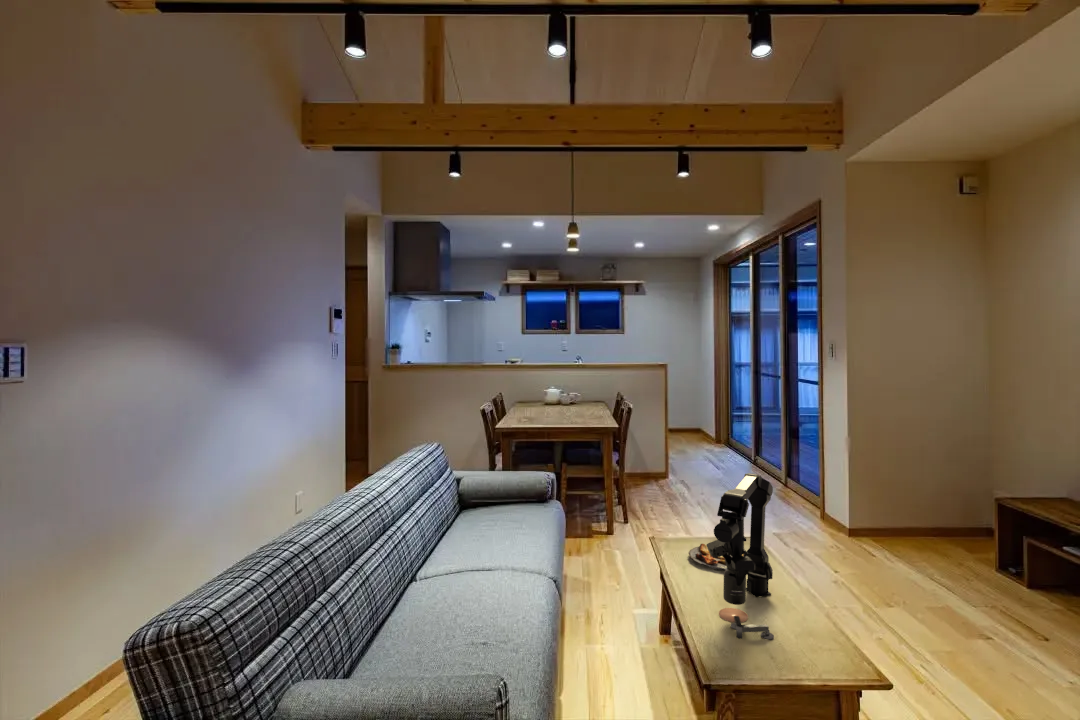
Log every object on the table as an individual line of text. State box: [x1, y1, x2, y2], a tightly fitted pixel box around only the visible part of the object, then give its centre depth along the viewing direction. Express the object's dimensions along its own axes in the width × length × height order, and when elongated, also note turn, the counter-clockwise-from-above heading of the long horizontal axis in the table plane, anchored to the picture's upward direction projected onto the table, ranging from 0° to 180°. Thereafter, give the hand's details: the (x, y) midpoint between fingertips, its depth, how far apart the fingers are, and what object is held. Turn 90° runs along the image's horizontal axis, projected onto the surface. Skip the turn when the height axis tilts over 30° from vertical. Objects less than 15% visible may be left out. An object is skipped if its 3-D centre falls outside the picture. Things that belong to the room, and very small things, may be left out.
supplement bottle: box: [723, 561, 747, 606], centre depth 178 cm, size 7×7×12 cm
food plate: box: [688, 543, 744, 571], centre depth 226 cm, size 25×23×4 cm
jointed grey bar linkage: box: [730, 616, 775, 641], centre depth 171 cm, size 11×11×4 cm
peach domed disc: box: [718, 607, 749, 624], centre depth 181 cm, size 9×9×1 cm
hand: (734, 580), depth 178 cm, fingers closed on supplement bottle, 7 cm apart
